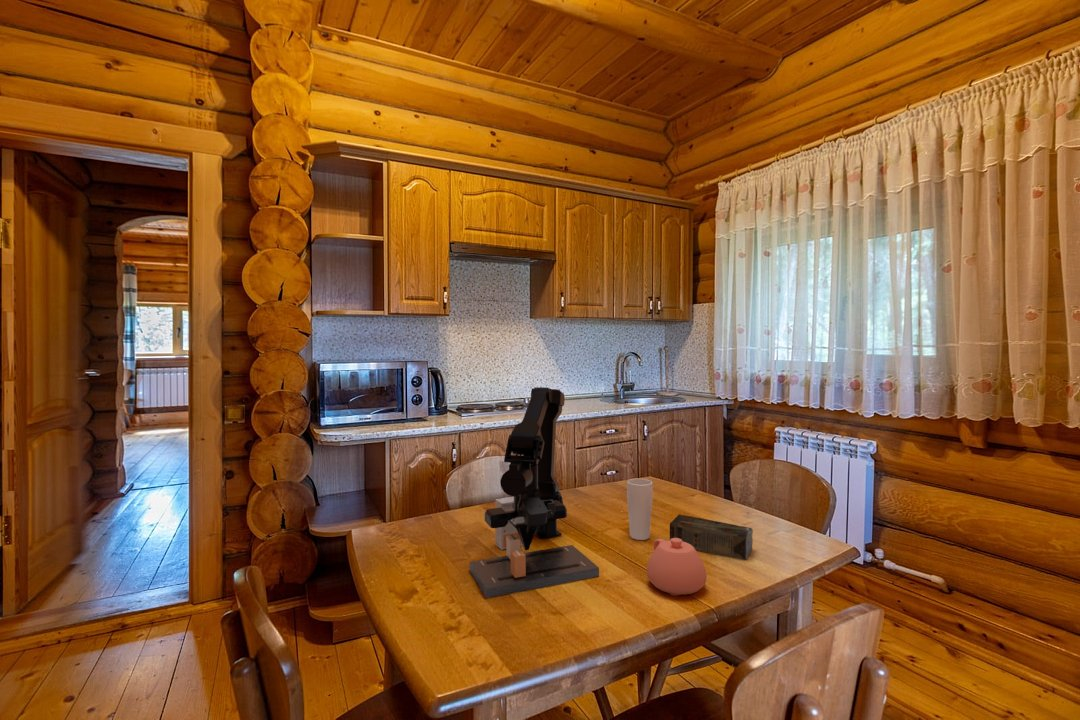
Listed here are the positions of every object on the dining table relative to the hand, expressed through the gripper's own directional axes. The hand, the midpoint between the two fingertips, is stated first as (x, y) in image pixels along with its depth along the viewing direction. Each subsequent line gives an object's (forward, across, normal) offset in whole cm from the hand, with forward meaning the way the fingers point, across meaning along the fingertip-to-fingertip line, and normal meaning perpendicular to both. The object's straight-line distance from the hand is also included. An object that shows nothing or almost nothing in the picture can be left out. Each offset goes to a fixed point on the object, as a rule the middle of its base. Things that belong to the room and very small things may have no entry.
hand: (526, 549), depth 123 cm
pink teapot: (+4, +26, -22) cm, 34 cm away
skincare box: (+4, 0, +12) cm, 13 cm away
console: (+4, 0, -5) cm, 6 cm away
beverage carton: (+4, +46, -8) cm, 47 cm away
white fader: (+1, -3, 0) cm, 3 cm away
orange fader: (+1, -5, -9) cm, 10 cm away
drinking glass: (+4, +34, +4) cm, 34 cm away
